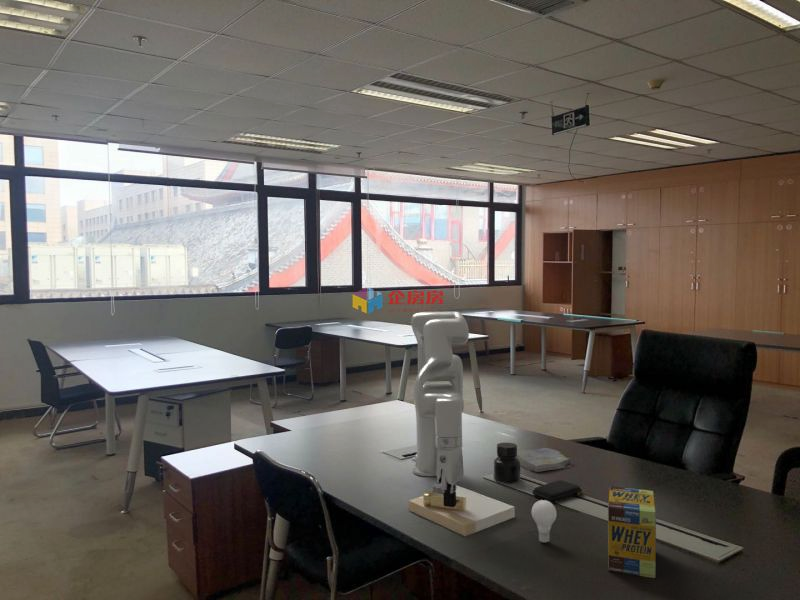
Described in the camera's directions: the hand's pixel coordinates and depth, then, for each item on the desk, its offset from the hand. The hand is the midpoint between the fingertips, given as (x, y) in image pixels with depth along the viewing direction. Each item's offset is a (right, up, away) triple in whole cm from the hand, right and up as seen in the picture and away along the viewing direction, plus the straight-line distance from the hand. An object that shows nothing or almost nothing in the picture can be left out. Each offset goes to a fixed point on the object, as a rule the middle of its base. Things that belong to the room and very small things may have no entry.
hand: (449, 505), depth 169 cm
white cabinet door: (+3, -5, +6) cm, 8 cm away
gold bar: (-1, -2, +4) cm, 4 cm away
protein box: (+42, -6, -24) cm, 49 cm away
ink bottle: (+23, -4, +36) cm, 43 cm away
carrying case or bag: (+36, -4, +21) cm, 42 cm away
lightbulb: (+24, -5, -13) cm, 27 cm away
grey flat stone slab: (+39, -3, +54) cm, 67 cm away
